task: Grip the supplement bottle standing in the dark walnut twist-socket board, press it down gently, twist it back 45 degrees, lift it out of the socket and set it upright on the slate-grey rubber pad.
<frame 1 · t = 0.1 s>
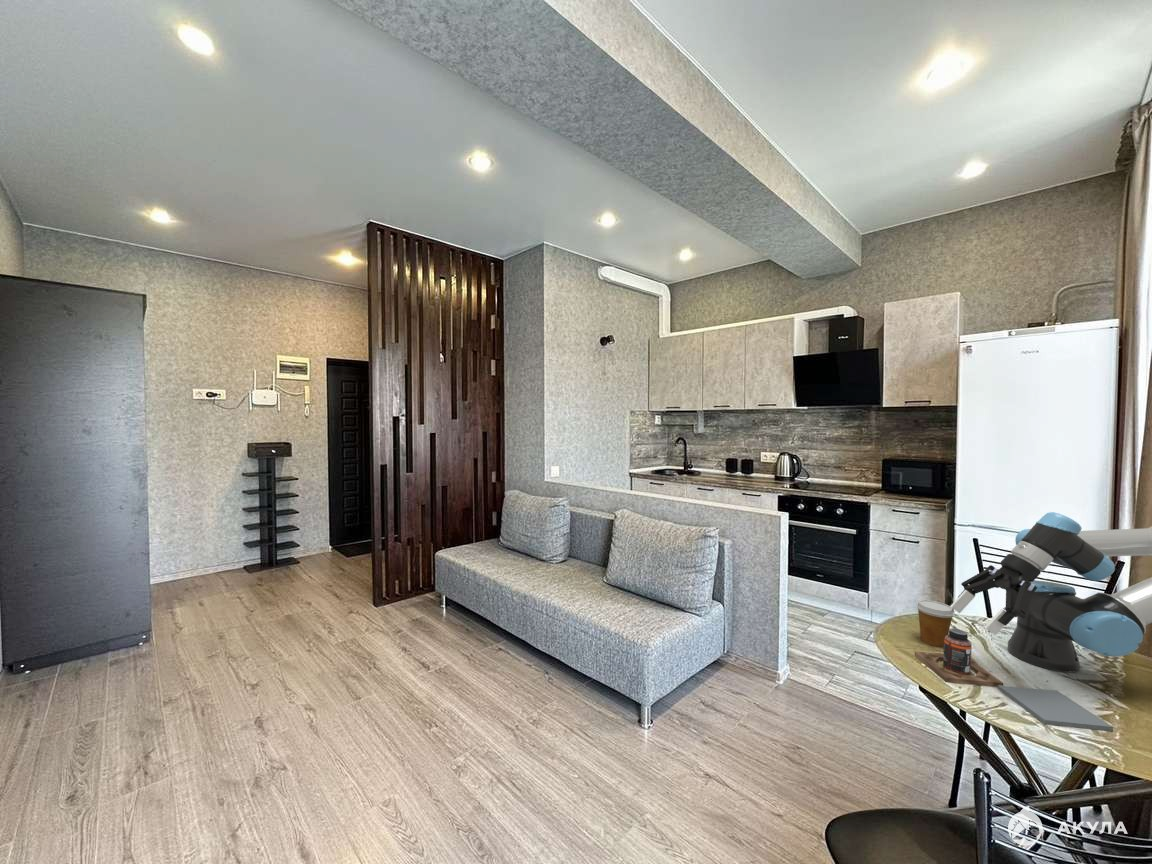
hand: (971, 620, 128), 15 cm above the table, tool tilted 35°, fingers open, 13 cm apart
slate pad: (1051, 708, 113), on the table
disposable coffee cup: (933, 642, 146), on the table
supplement bottle: (956, 671, 130), resting in socket board
socket board: (956, 670, 130), on the table
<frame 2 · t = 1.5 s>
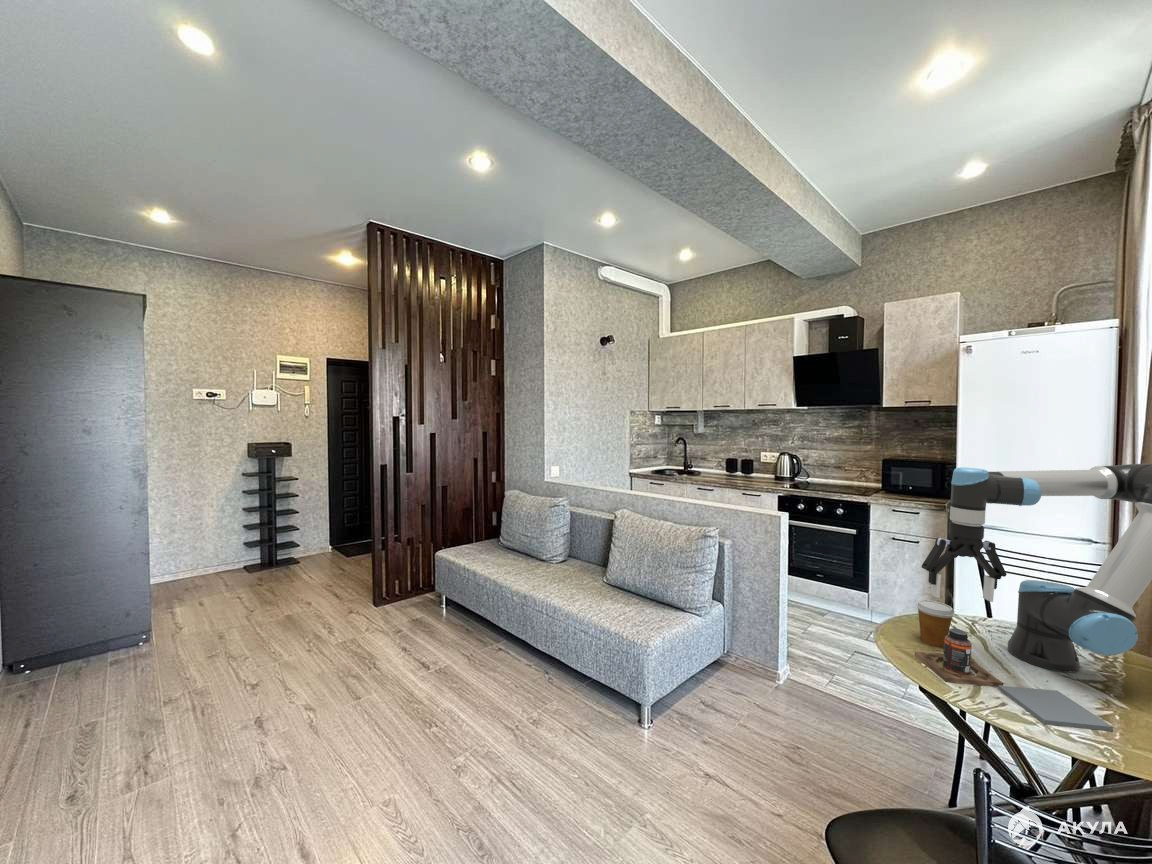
hand: (961, 597, 129), 21 cm above the table, tool pointing down, fingers open, 13 cm apart
nothing on the table moved.
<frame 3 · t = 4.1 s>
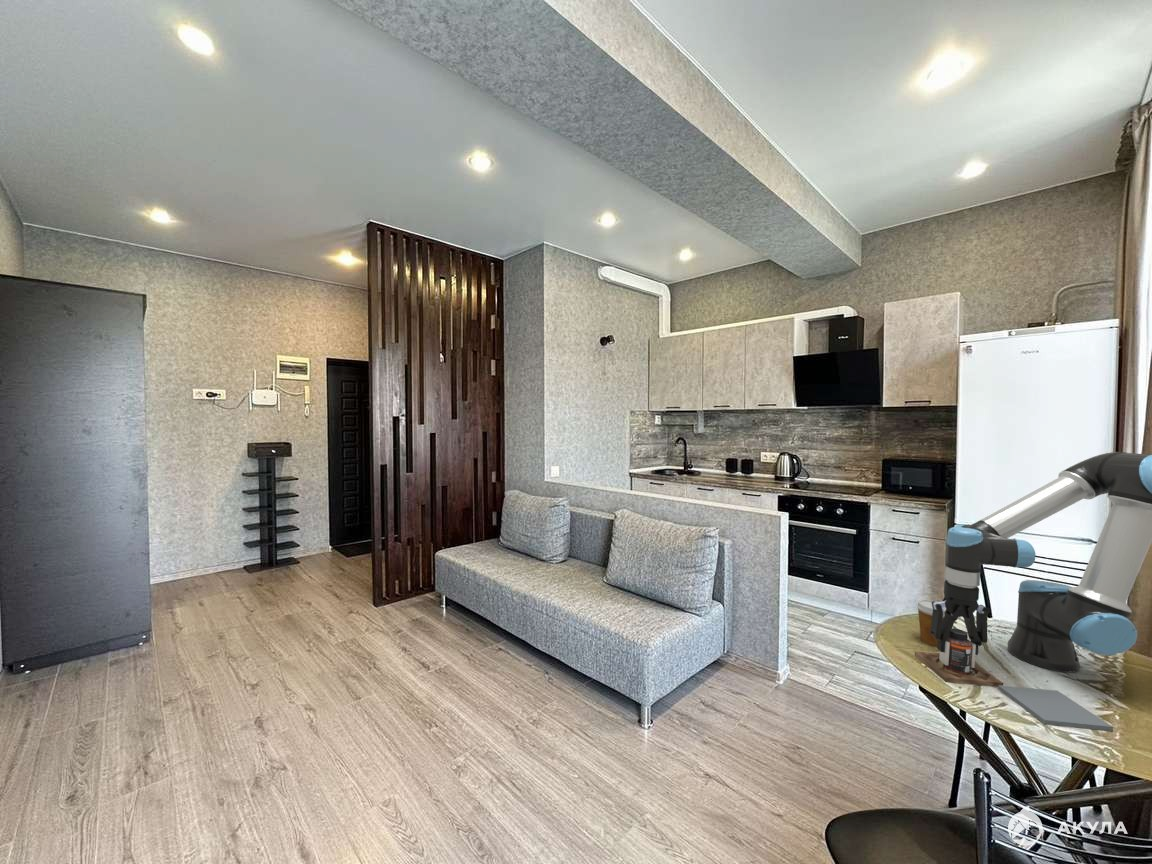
hand: (956, 663, 130), 2 cm above the table, tool pointing down, fingers closed on supplement bottle, 6 cm apart
supplement bottle: (956, 671, 130), resting in socket board, touching gripper
everything else where it was.
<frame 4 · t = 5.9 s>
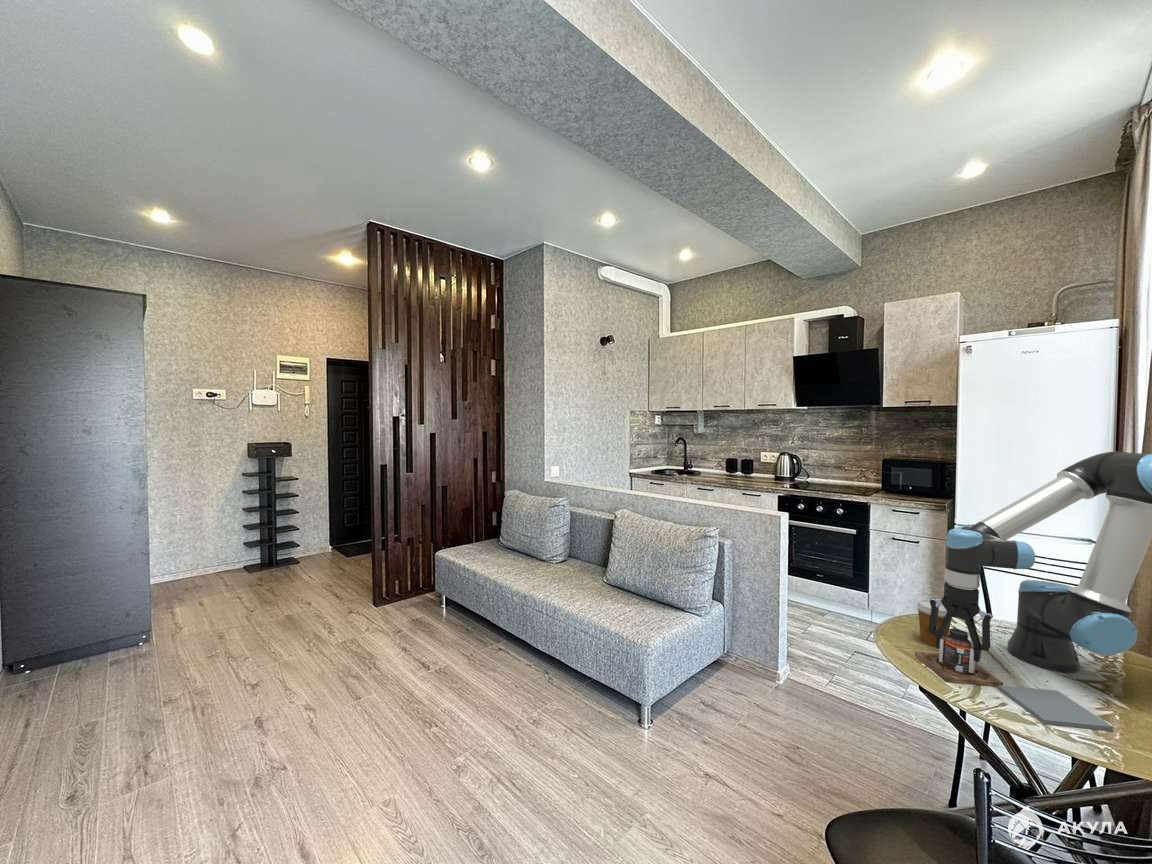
hand: (956, 665, 130), 1 cm above the table, tool pointing down, fingers closed on supplement bottle, 6 cm apart
supplement bottle: (956, 671, 130), resting in socket board, touching gripper
everything else where it was.
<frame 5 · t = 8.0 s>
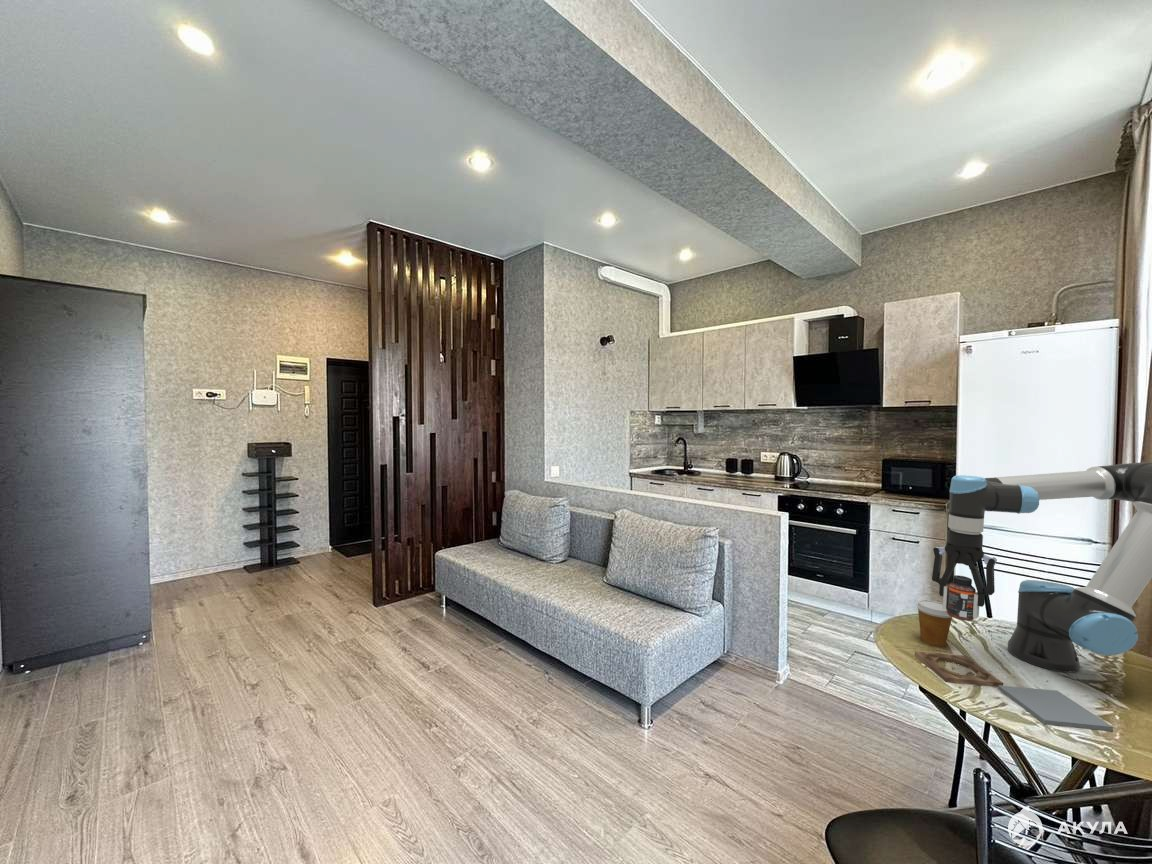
hand: (960, 612, 129), 17 cm above the table, tool pointing down, fingers closed on supplement bottle, 6 cm apart
supplement bottle: (960, 617, 129), point 15 cm above the table, touching gripper
everything else where it was.
when the fingers open (4 cm above the table, at t = 11.0 s): supplement bottle drops 1 cm, resting on slate pad.
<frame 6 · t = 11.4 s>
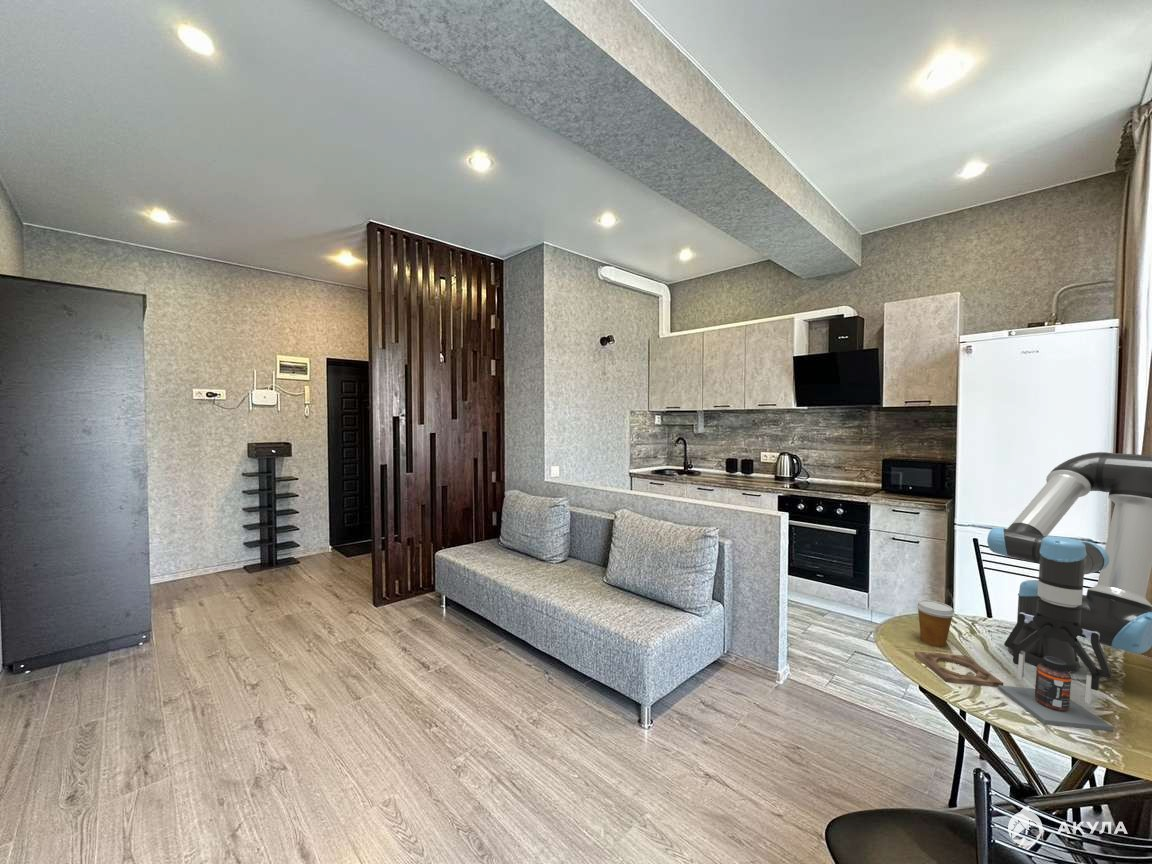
hand: (1052, 688, 113), 5 cm above the table, tool pointing down, fingers open, 11 cm apart
supplement bottle: (1051, 705, 113), point 1 cm above the table, touching slate pad
everything else where it was.
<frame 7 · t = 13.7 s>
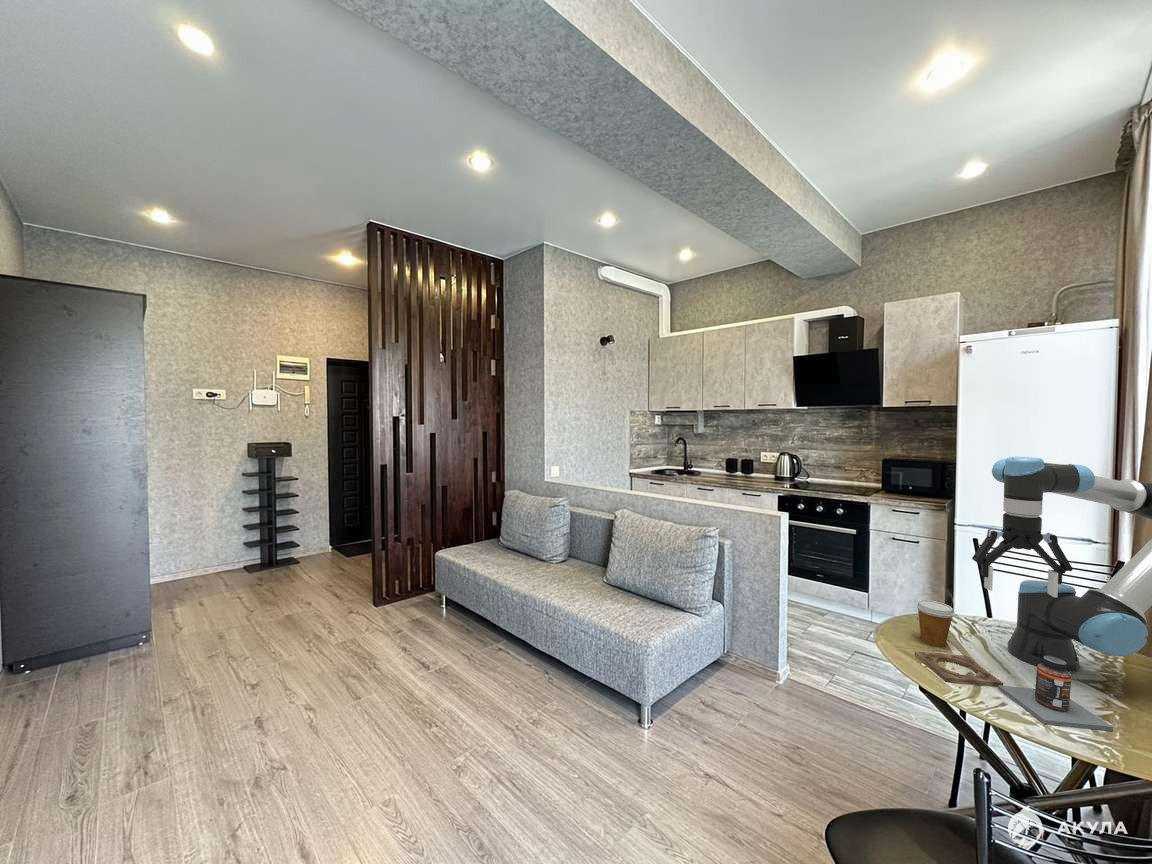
hand: (1019, 592, 124), 25 cm above the table, tool pointing down, fingers open, 13 cm apart
nothing on the table moved.
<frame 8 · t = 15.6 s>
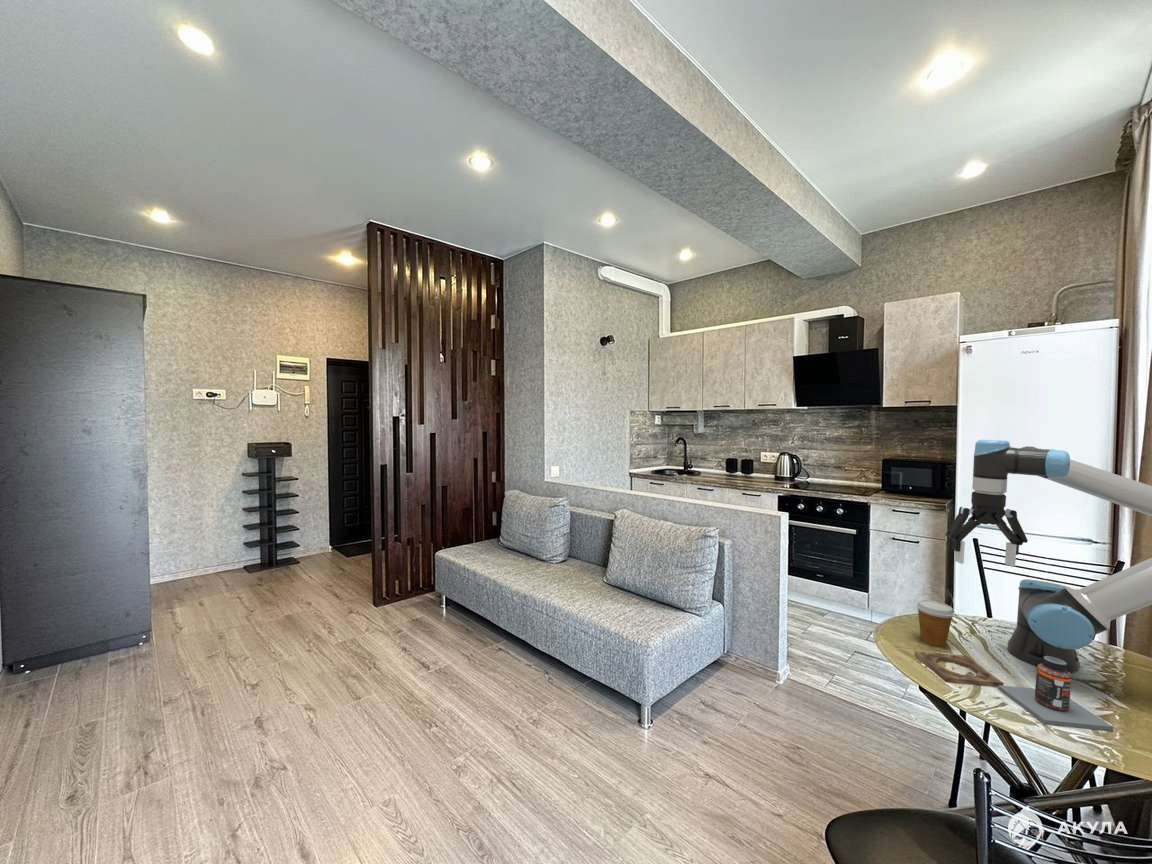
hand: (984, 564, 135), 29 cm above the table, tool pointing down, fingers open, 13 cm apart
nothing on the table moved.
at the end: supplement bottle inside the target area on the slate pad (0.1 cm from its centre), point 0.8 cm above the slate pad's base; supplement bottle tilted 0°; the gripper is holding nothing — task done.
